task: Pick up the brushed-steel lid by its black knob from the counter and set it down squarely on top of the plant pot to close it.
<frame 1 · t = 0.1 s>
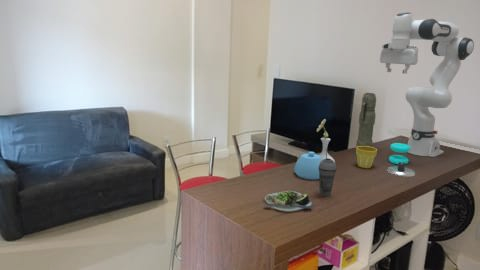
hand: (396, 72, 190), 48 cm above the breakfast bar, tool pointing down, fingers open, 8 cm apart
salad plate: (289, 204, 144), on the breakfast bar
plant pot: (364, 166, 190), on the breakfast bar
steel lid: (400, 172, 183), on the breakfast bar
beverage cup: (325, 194, 153), on the breakfast bar
sugar bowl: (309, 175, 176), on the breakfast bar
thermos: (363, 152, 216), on the breakfast bar
donuts: (398, 162, 198), on the breakfast bar
flower in vase: (323, 165, 191), on the breakfast bar
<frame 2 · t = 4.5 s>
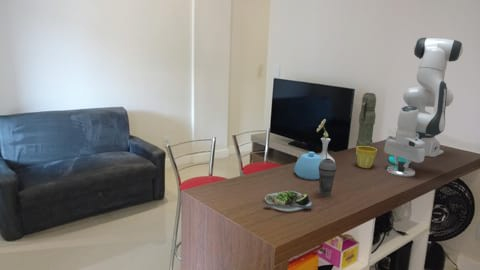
hand: (401, 166, 182), 3 cm above the breakfast bar, tool pointing down, fingers closed on steel lid, 3 cm apart
steel lid: (400, 172, 182), on the breakfast bar, touching gripper
everything else where it was.
when the fingers open (15 cm above the breakfast bar, at t = 10.0 s): steel lid drops 2 cm, resting on plant pot.
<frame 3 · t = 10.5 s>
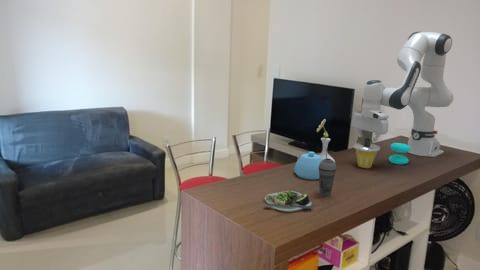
hand: (367, 139, 187), 15 cm above the breakfast bar, tool pointing down, fingers open, 8 cm apart
plant pot: (364, 166, 190), on the breakfast bar, touching steel lid
steel lid: (366, 148, 188), point 10 cm above the breakfast bar, touching plant pot
everything else where it was.
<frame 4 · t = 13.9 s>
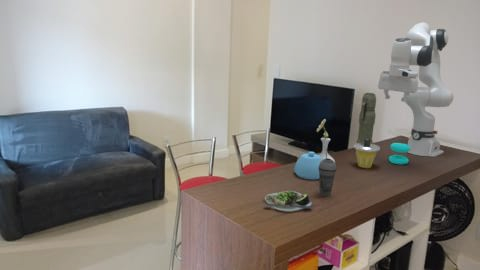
hand: (395, 100, 182), 35 cm above the breakfast bar, tool pointing down, fingers open, 8 cm apart
nothing on the breakfast bar moved.
at the end: steel lid 0.1 cm from the plant pot (horizontally); steel lid point 9.7 cm above the breakfast bar; steel lid tilted 0° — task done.
